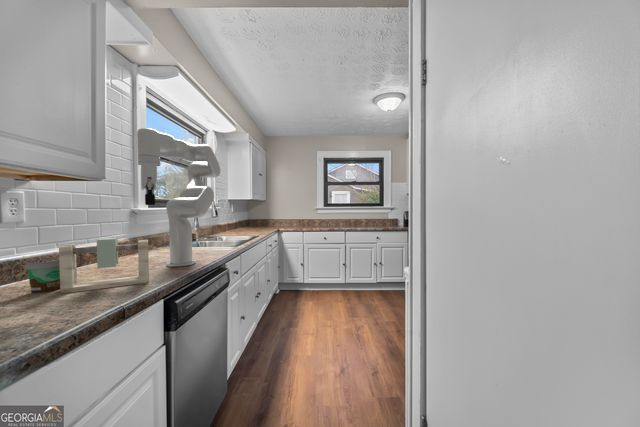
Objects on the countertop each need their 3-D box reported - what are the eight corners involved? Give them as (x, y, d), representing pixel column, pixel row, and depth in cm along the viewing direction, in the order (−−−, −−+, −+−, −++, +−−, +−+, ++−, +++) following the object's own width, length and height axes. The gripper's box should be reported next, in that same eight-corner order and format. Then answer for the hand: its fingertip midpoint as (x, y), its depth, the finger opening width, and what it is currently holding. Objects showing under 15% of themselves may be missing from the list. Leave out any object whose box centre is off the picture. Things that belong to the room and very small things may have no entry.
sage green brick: (100, 264, 98) (100, 238, 98) (118, 263, 101) (117, 237, 101) (97, 268, 92) (96, 240, 92) (115, 266, 95) (115, 239, 95)
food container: (40, 295, 86) (39, 263, 86) (25, 294, 88) (24, 262, 87) (81, 284, 99) (80, 256, 98) (68, 283, 100) (67, 255, 99)
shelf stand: (65, 288, 93) (64, 244, 92) (148, 278, 106) (148, 239, 105) (60, 293, 88) (58, 247, 87) (148, 282, 100) (147, 241, 100)
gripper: (138, 163, 113) (139, 205, 114) (136, 157, 99) (137, 205, 99) (159, 164, 117) (160, 204, 118) (160, 159, 103) (161, 204, 103)
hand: (150, 204), depth 109 cm, fingers open, 9 cm apart
